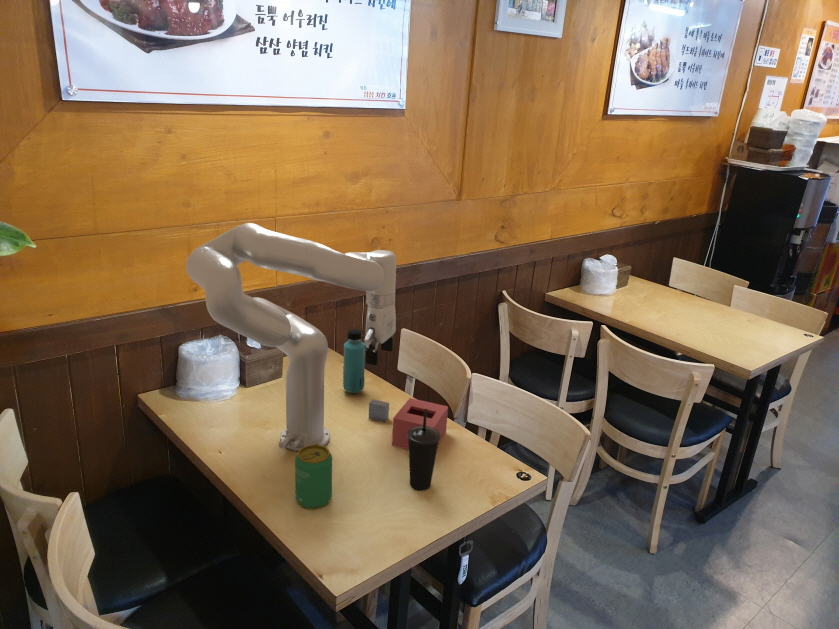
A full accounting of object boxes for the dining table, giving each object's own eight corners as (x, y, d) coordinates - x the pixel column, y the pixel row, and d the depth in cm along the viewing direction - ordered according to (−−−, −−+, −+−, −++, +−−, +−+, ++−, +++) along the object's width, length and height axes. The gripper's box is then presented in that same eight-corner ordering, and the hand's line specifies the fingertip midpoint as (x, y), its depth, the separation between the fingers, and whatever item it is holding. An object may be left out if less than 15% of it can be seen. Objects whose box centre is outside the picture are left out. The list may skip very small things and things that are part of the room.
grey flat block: (385, 422, 172) (385, 406, 171) (368, 418, 174) (369, 402, 172) (388, 418, 174) (389, 402, 173) (372, 414, 176) (372, 399, 174)
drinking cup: (413, 497, 142) (418, 420, 135) (398, 479, 148) (402, 404, 141) (442, 489, 145) (448, 414, 138) (426, 472, 151) (432, 399, 144)
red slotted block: (431, 455, 158) (433, 427, 156) (391, 444, 162) (393, 417, 159) (445, 432, 169) (448, 406, 166) (408, 423, 172) (409, 397, 170)
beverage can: (337, 503, 138) (338, 457, 134) (304, 515, 134) (303, 467, 130) (322, 484, 144) (322, 439, 140) (289, 494, 140) (289, 448, 136)
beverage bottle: (360, 398, 184) (362, 336, 177) (339, 395, 185) (340, 333, 178) (366, 389, 190) (369, 328, 183) (346, 386, 191) (347, 325, 184)
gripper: (380, 310, 154) (378, 372, 160) (406, 290, 169) (404, 347, 175) (352, 305, 156) (352, 366, 163) (381, 286, 172) (380, 343, 178)
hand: (379, 357), depth 169 cm, fingers open, 9 cm apart
